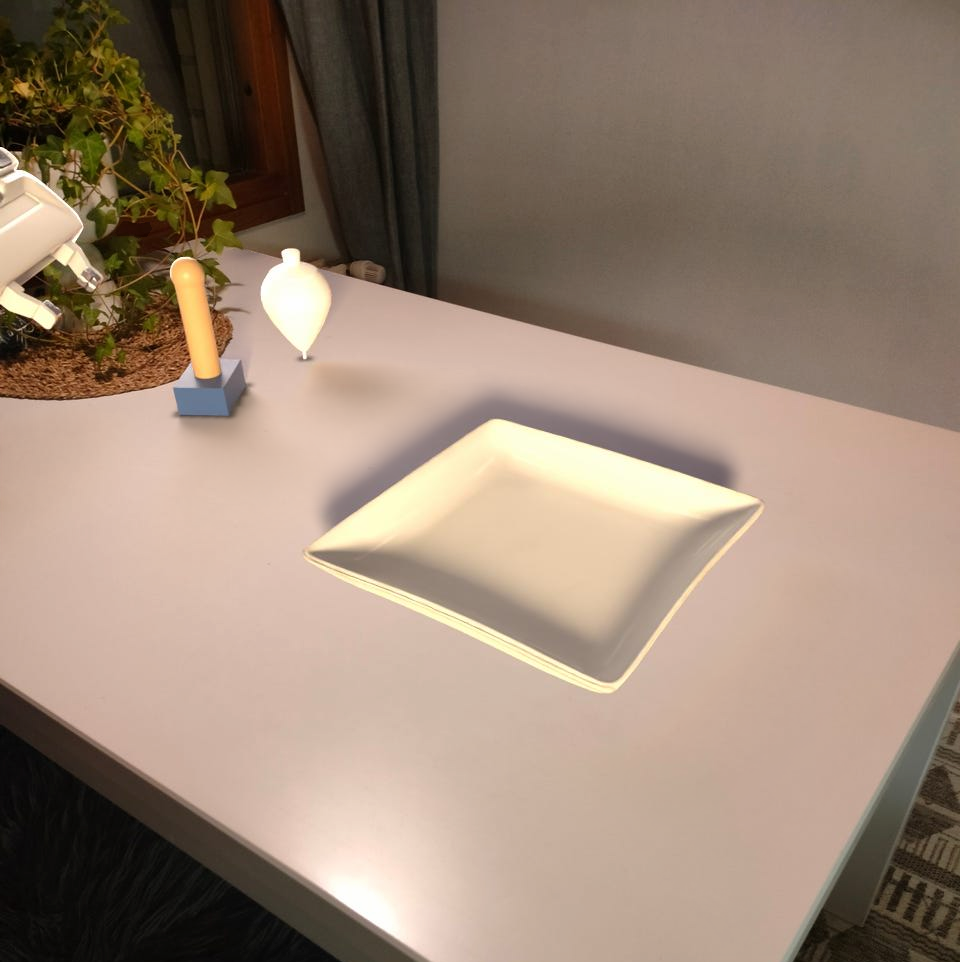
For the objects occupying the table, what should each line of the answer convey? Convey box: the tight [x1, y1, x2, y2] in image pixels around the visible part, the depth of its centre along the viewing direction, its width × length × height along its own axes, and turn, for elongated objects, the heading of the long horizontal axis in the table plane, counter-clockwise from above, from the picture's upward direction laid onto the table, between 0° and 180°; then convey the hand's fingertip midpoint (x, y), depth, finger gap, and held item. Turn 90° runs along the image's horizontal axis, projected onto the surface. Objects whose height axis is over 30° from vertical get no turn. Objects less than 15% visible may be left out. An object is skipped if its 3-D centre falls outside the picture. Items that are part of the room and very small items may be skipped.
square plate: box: [301, 417, 766, 694], centre depth 73 cm, size 27×27×4 cm
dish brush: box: [169, 256, 247, 417], centre depth 92 cm, size 5×7×15 cm
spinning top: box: [260, 247, 333, 360], centre depth 101 cm, size 8×8×12 cm
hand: (78, 303), depth 91 cm, fingers open, 8 cm apart
